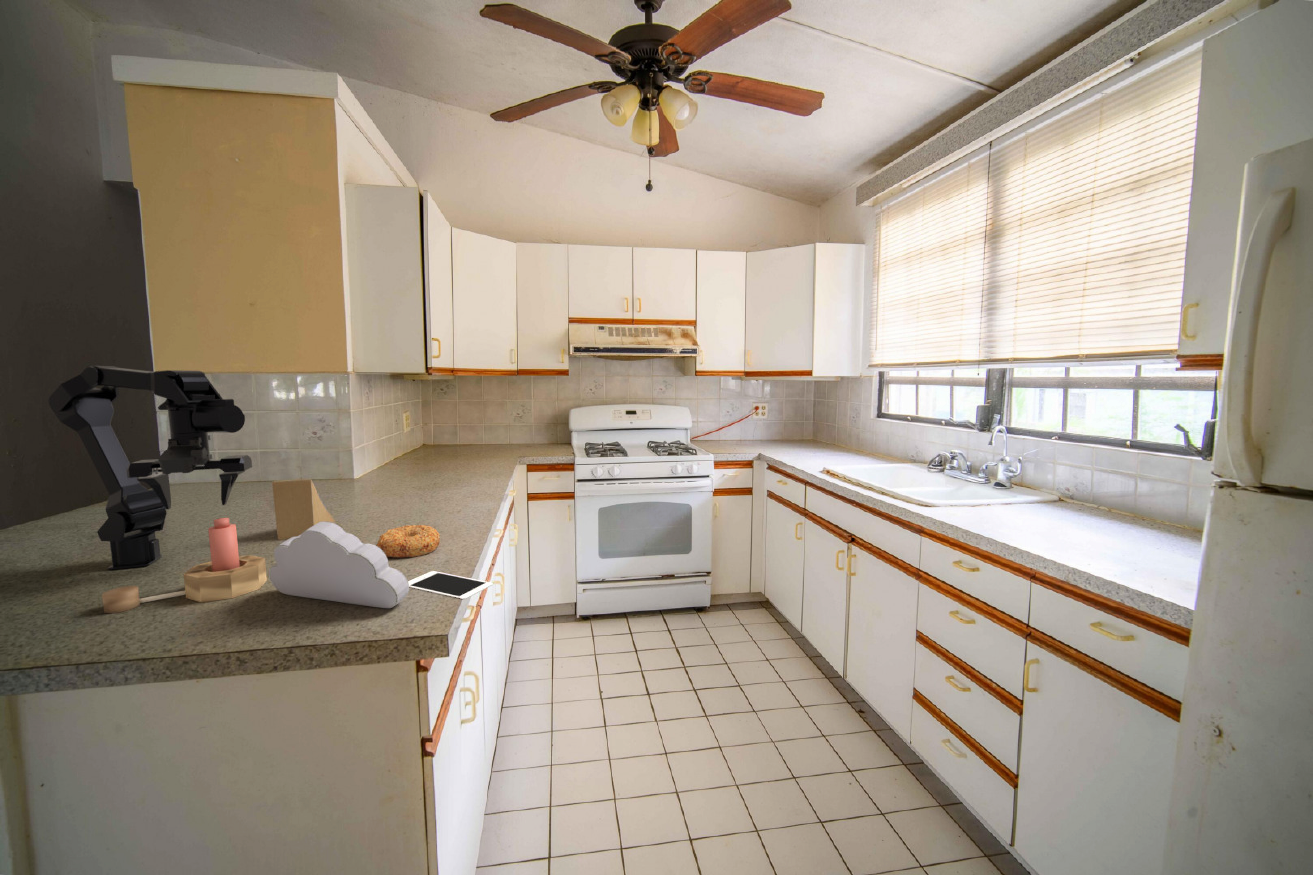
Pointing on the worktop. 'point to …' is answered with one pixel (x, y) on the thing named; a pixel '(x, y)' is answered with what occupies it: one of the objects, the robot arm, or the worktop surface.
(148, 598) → the white thin stick
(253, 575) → the bead
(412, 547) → the bagel
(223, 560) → the pink bottle
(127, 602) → the small bead
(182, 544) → the worktop surface
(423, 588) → the cell phone
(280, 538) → the sandwich container
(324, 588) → the decorative item
